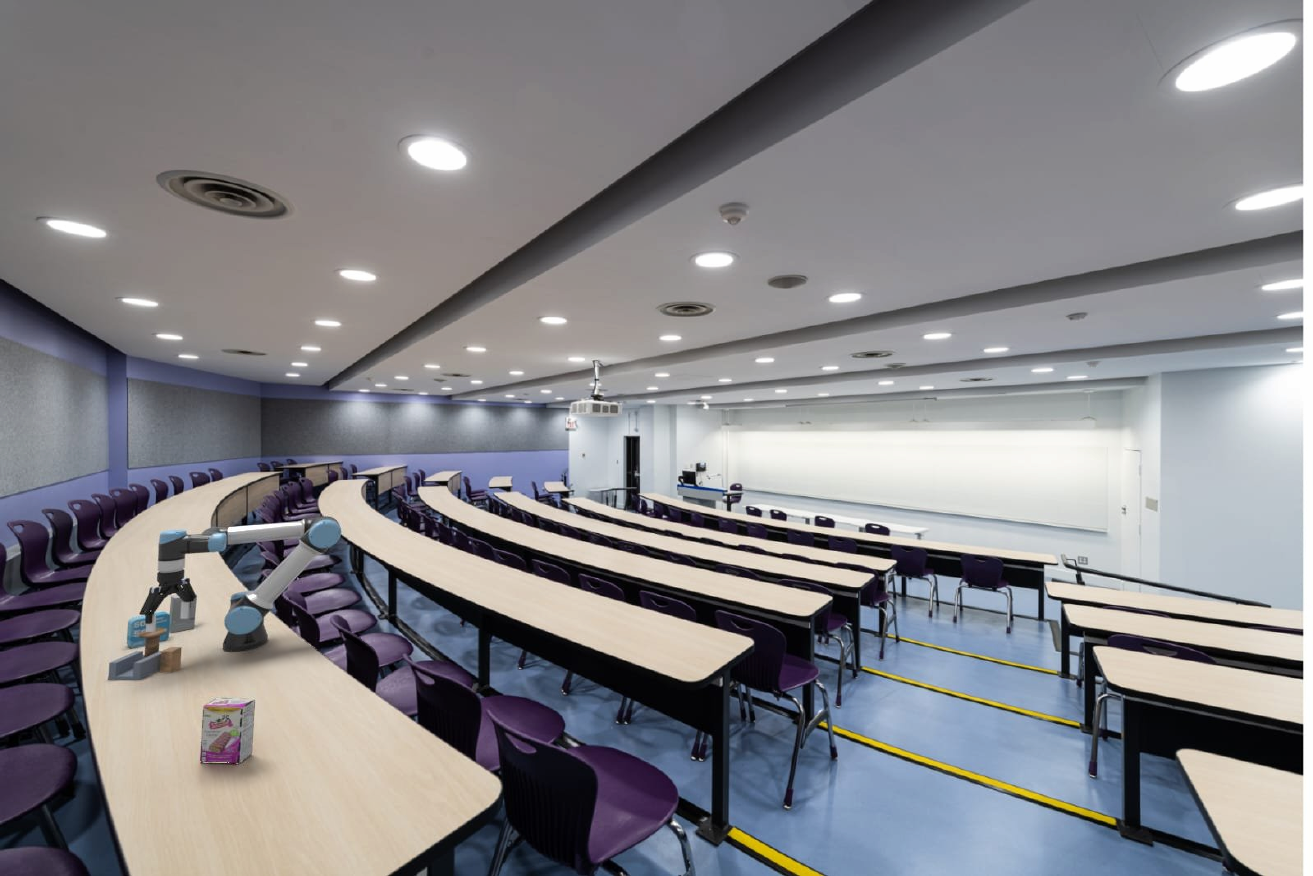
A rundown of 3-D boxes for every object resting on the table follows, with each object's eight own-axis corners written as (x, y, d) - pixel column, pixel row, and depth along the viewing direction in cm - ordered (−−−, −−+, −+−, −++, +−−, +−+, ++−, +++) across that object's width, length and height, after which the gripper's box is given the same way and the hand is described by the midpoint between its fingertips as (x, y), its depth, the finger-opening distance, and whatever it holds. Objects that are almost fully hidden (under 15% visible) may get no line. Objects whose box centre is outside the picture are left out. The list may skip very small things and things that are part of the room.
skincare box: (170, 633, 219) (172, 598, 219) (167, 629, 223) (169, 595, 223) (195, 628, 226) (197, 594, 226) (192, 624, 230) (194, 591, 230)
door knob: (173, 654, 199) (175, 627, 200) (152, 664, 190) (154, 636, 191) (150, 654, 199) (151, 627, 199) (128, 664, 190) (129, 636, 190)
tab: (180, 667, 189) (181, 647, 189) (170, 672, 185) (172, 651, 185) (169, 667, 189) (170, 647, 189) (159, 672, 185) (161, 651, 185)
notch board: (165, 667, 188) (166, 651, 188) (139, 679, 178) (140, 663, 179) (135, 667, 188) (136, 651, 188) (108, 679, 178) (109, 662, 178)
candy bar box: (198, 764, 135) (201, 706, 136) (213, 753, 140) (217, 696, 141) (238, 765, 136) (242, 707, 136) (253, 754, 141) (256, 697, 141)
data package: (129, 649, 202) (131, 620, 202) (126, 646, 204) (128, 618, 205) (168, 640, 212) (170, 612, 213) (165, 637, 215) (167, 610, 215)
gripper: (190, 562, 200) (188, 613, 200) (127, 579, 175) (124, 637, 175) (209, 562, 200) (206, 613, 200) (148, 579, 175) (145, 638, 175)
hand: (168, 624), depth 187 cm, fingers open, 13 cm apart
